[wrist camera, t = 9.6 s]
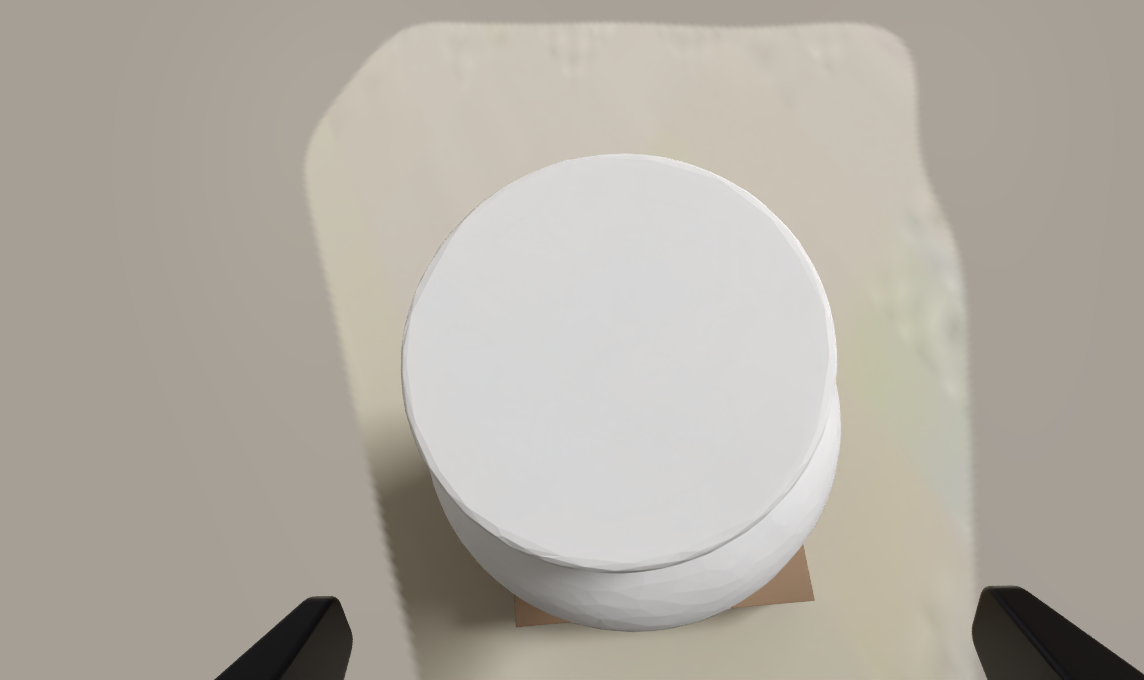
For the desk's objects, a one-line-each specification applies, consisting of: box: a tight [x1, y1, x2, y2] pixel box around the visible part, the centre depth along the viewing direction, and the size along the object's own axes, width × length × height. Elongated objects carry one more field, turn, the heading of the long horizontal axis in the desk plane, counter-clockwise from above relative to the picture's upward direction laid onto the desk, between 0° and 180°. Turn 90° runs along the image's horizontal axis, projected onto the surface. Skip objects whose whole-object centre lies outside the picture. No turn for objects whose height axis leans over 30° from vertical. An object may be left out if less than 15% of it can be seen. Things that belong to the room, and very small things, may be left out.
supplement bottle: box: [401, 154, 841, 632], centre depth 13 cm, size 7×7×13 cm
